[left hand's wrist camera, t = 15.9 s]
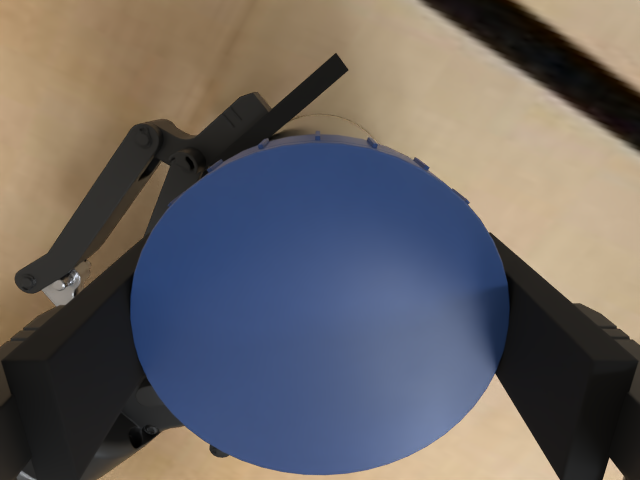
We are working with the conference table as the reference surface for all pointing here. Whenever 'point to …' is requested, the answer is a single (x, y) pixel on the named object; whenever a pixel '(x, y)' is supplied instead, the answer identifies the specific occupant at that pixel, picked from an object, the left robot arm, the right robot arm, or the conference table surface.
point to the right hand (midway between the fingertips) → (405, 152)
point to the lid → (319, 306)
